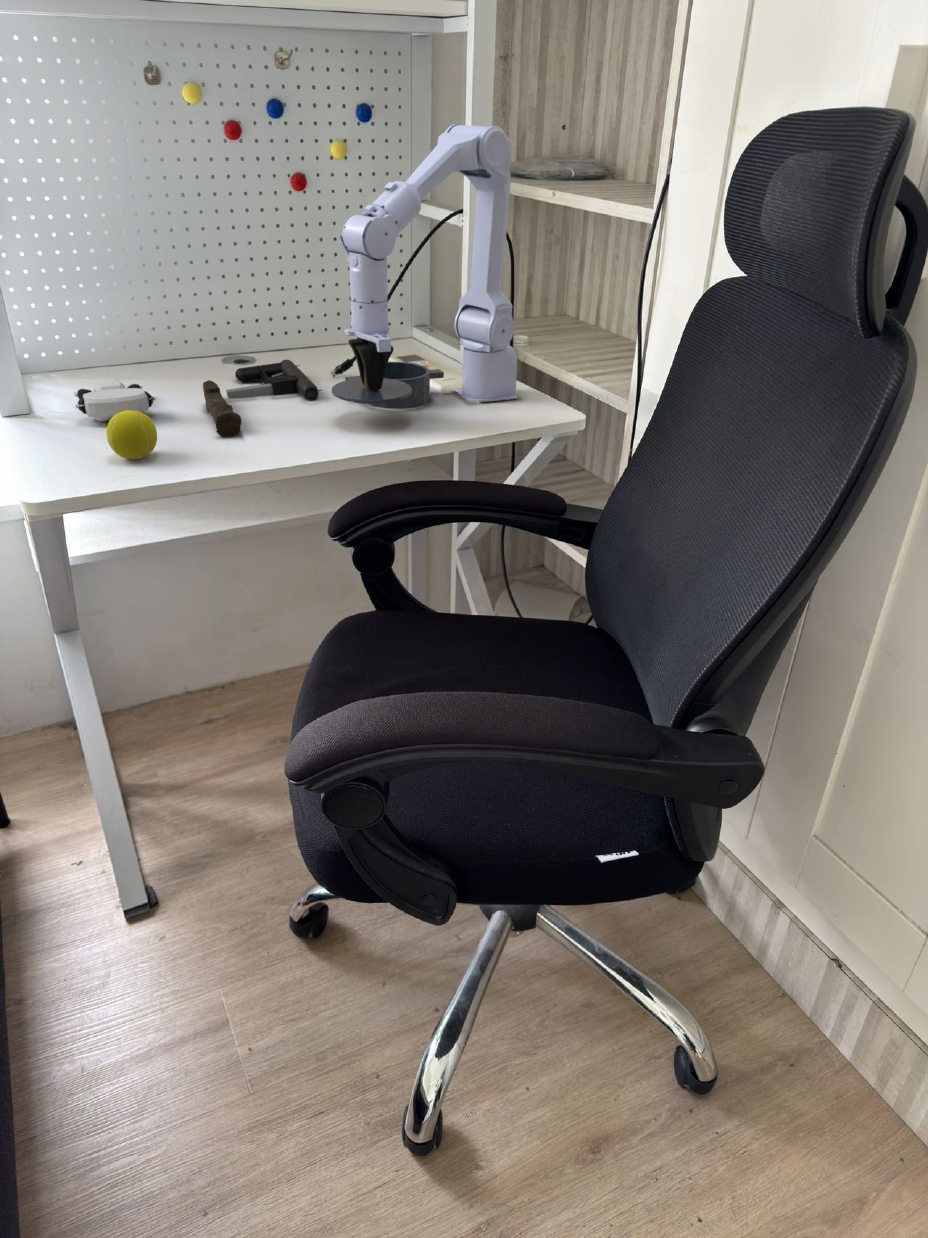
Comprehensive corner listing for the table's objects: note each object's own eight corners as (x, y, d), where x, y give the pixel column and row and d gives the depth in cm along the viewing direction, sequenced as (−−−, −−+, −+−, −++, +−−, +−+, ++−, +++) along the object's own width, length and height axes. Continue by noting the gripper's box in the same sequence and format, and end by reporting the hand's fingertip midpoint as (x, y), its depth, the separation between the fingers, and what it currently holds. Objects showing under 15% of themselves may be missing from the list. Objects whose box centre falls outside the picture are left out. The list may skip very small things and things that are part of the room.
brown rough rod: (243, 436, 145) (240, 407, 143) (217, 438, 144) (214, 409, 142) (225, 403, 161) (223, 376, 158) (202, 404, 159) (199, 378, 157)
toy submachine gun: (233, 396, 155) (324, 383, 160) (213, 367, 171) (297, 356, 176) (236, 415, 157) (327, 401, 162) (216, 385, 173) (299, 373, 178)
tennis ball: (163, 448, 139) (156, 403, 136) (157, 465, 134) (150, 418, 130) (115, 450, 138) (107, 404, 135) (107, 466, 132) (98, 419, 129)
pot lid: (322, 387, 152) (321, 359, 150) (396, 381, 157) (396, 353, 154) (344, 410, 142) (343, 380, 140) (423, 402, 146) (423, 373, 144)
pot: (338, 396, 166) (337, 365, 163) (429, 387, 172) (429, 358, 169) (358, 415, 156) (357, 383, 153) (453, 406, 162) (454, 375, 159)
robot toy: (73, 409, 158) (81, 429, 145) (68, 383, 156) (76, 400, 143) (147, 402, 162) (161, 420, 150) (143, 376, 160) (156, 392, 148)
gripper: (331, 292, 146) (335, 376, 153) (358, 310, 135) (361, 401, 142) (373, 289, 149) (375, 373, 156) (403, 307, 137) (404, 396, 144)
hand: (371, 386), depth 149 cm, fingers closed on pot lid, 2 cm apart
